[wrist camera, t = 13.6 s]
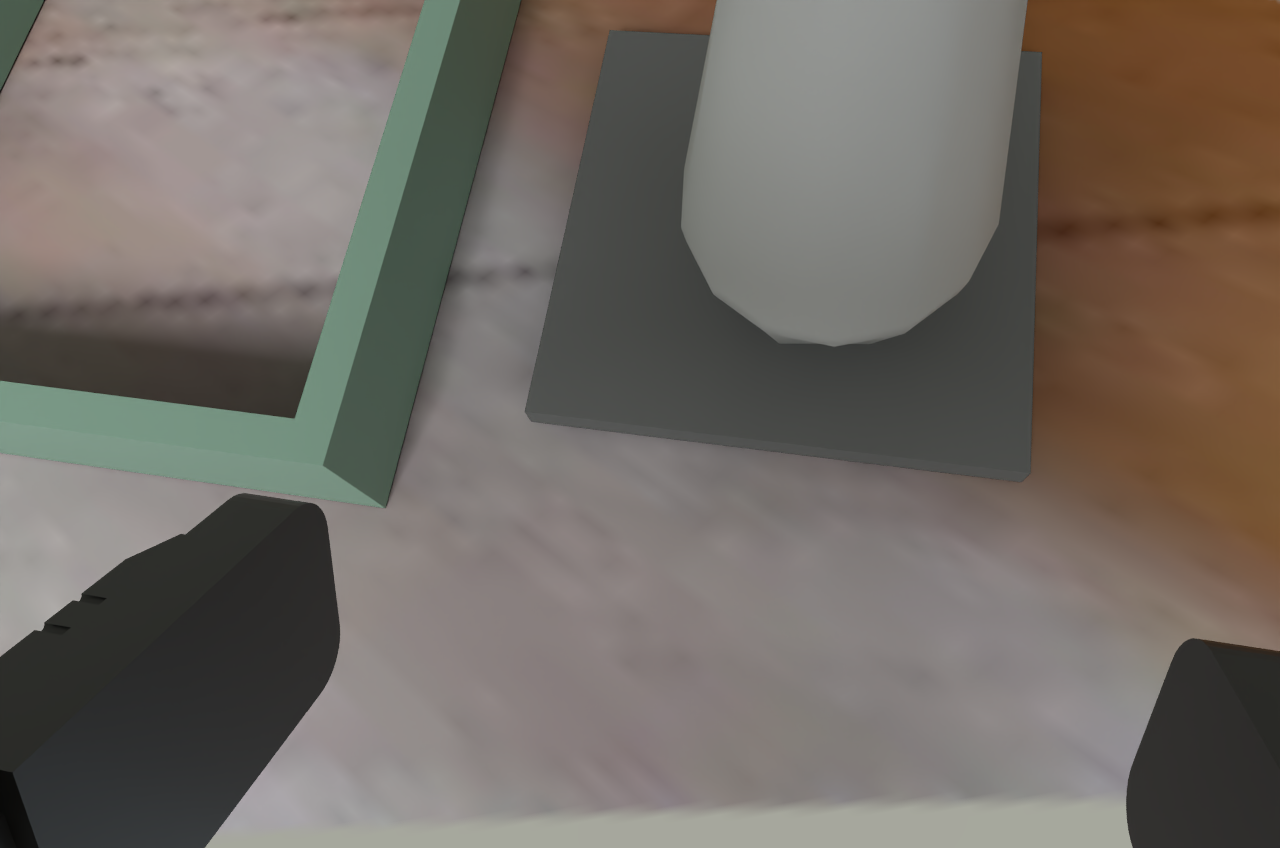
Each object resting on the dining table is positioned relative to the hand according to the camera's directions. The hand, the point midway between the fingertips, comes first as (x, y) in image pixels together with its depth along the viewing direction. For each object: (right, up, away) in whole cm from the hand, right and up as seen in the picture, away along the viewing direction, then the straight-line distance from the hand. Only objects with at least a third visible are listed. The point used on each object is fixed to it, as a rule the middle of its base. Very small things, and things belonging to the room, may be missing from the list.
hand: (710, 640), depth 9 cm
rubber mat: (+3, +6, +11) cm, 13 cm away
